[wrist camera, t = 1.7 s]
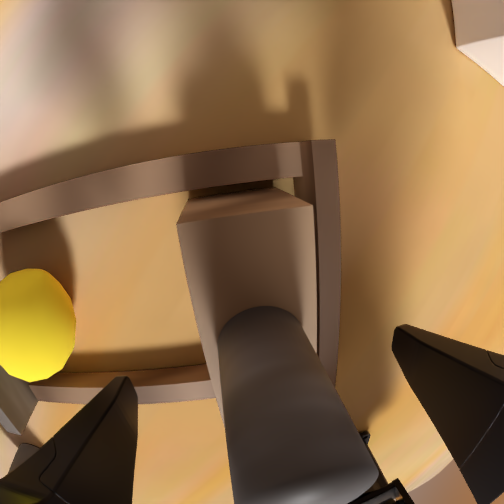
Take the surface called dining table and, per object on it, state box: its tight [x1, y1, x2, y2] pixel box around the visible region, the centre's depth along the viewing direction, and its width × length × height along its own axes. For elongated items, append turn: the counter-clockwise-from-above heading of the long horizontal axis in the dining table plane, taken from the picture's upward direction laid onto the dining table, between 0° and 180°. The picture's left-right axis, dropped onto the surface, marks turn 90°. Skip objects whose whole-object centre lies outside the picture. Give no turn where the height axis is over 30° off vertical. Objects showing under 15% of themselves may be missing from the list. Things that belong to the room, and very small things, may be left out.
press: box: [0, 139, 341, 435], centre depth 12 cm, size 21×13×5 cm, turn 96°
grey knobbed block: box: [176, 187, 379, 504], centre depth 9 cm, size 4×9×11 cm, turn 6°
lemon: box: [0, 269, 76, 382], centre depth 11 cm, size 7×5×5 cm
